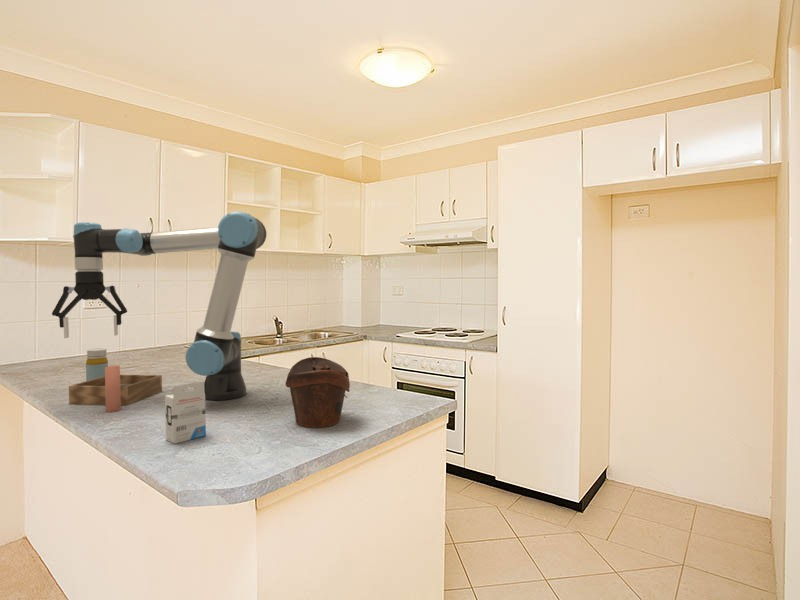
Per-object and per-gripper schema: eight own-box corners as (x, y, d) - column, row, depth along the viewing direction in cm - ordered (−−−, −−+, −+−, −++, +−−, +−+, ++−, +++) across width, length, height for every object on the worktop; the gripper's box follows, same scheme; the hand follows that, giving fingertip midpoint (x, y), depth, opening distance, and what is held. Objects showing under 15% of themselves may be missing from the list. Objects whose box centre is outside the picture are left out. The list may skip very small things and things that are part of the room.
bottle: (97, 391, 171) (96, 351, 171) (81, 390, 173) (81, 350, 172) (112, 387, 178) (112, 348, 178) (97, 386, 180) (96, 348, 179)
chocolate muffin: (324, 435, 121) (324, 368, 121) (271, 424, 132) (271, 361, 132) (364, 420, 136) (364, 360, 136) (314, 410, 147) (314, 354, 147)
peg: (123, 408, 147) (122, 365, 147) (114, 412, 143) (114, 367, 143) (111, 408, 148) (110, 365, 147) (102, 411, 144) (101, 367, 143)
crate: (162, 391, 172) (161, 375, 171) (126, 405, 152) (125, 387, 151) (111, 390, 173) (110, 374, 173) (69, 403, 153) (68, 386, 153)
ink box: (197, 432, 125) (196, 378, 124) (206, 435, 122) (205, 380, 121) (165, 440, 118) (164, 383, 118) (173, 444, 115) (172, 386, 114)
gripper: (134, 271, 157) (136, 333, 158) (45, 271, 147) (48, 337, 148) (132, 270, 150) (134, 335, 151) (38, 270, 140) (41, 340, 141)
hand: (91, 336), depth 149 cm, fingers open, 13 cm apart
